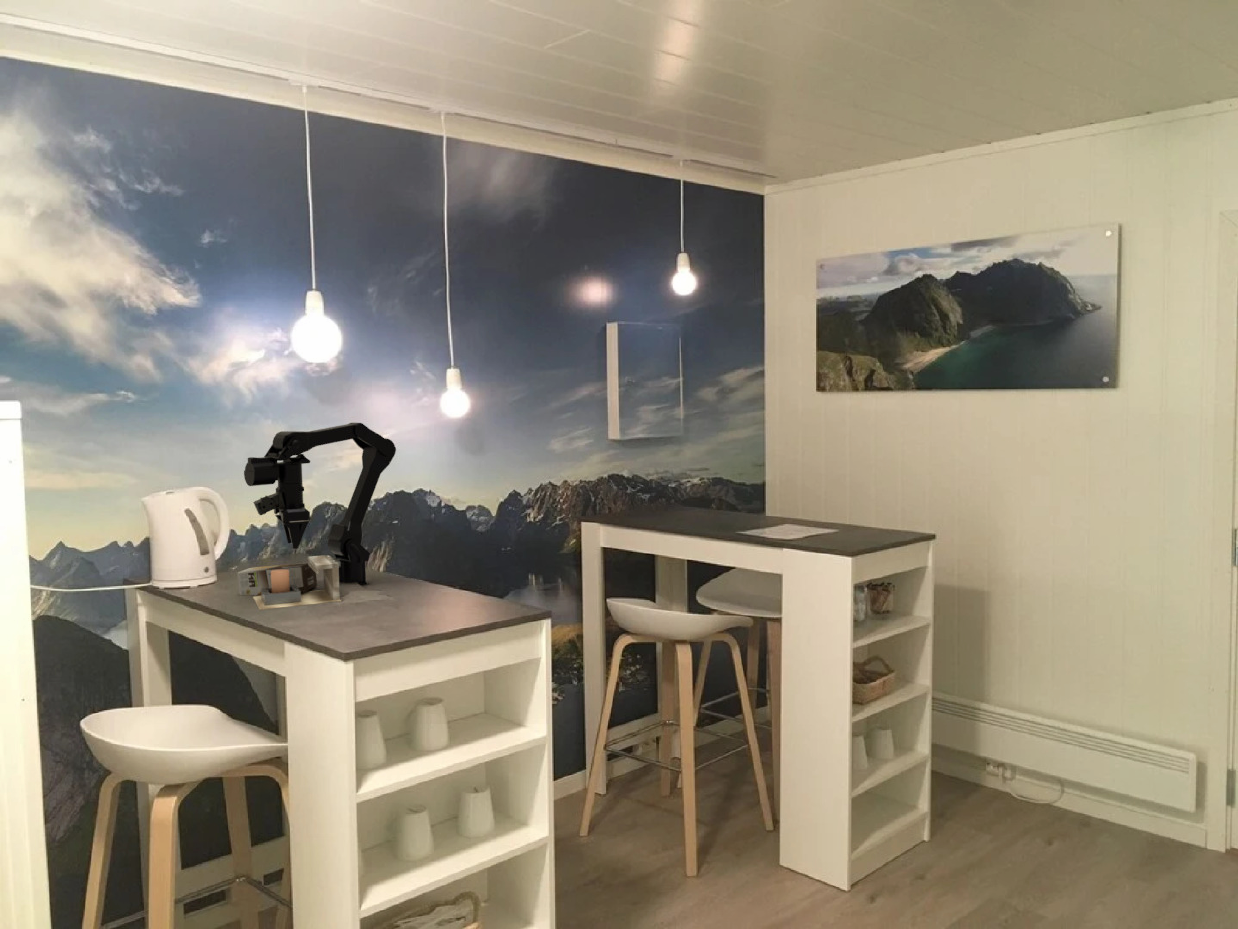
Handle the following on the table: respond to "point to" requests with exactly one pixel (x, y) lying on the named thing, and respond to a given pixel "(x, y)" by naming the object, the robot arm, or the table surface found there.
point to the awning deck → (315, 596)
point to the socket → (280, 596)
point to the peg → (280, 580)
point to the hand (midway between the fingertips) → (292, 545)
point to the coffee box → (261, 578)
